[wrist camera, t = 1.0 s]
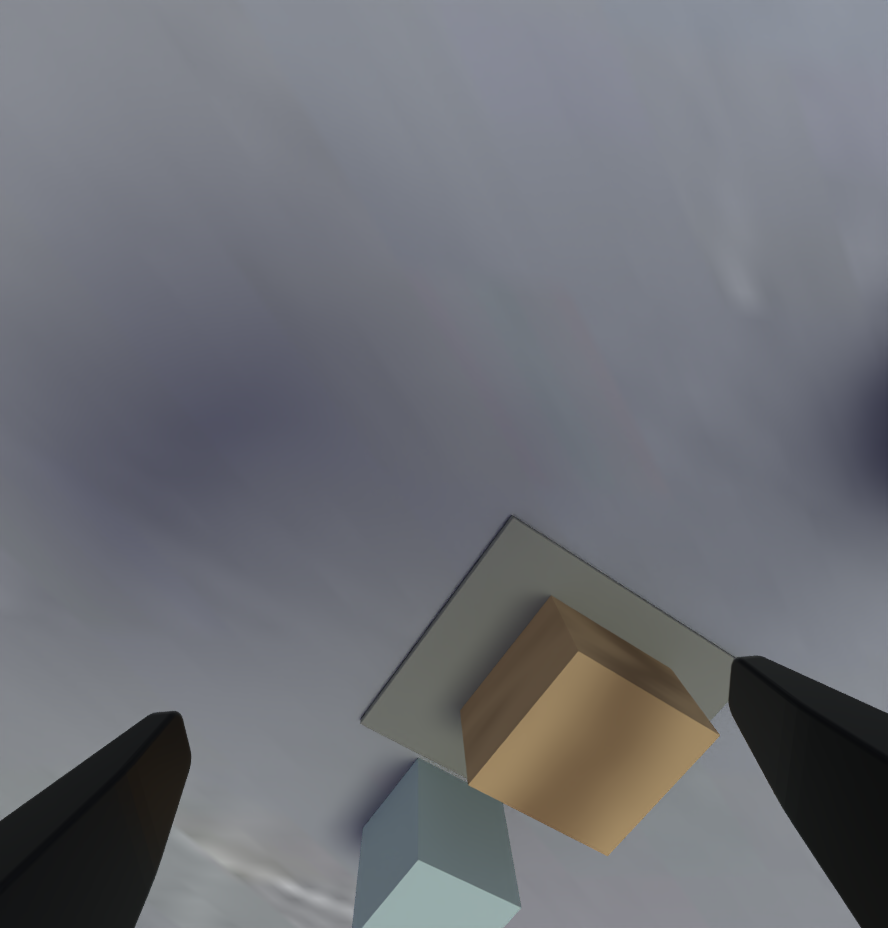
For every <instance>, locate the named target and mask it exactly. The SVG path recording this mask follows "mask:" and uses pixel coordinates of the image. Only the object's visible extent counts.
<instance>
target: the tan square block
mask: <svg viewBox="0 0 888 928" xmlns="http://www.w3.org/2000/svg"><path fill="white" fill-rule="evenodd" d="M460 715H461V725H462V734H463V743H464V752H465V761H466V771H467V780H468V785H469V786H471V787H473V788H475V789H477V790H479V791H481V792H483V793H485V794H487V795H488V796H490V797H492V798H494V799H496V800H498V801H500V802H502V803H504V804H506V805H508V806H510V807H512V808H514V809H516V810H518V811H520V812H522V813H524V814H526V815H528V816H530V817H532V818H534V819H536V820H538V821H540V822H542V823H544V824H545V825H547V826H549V827H551V828H553V829H555V830H557V831H559V832H561V833H563V834H565V835H567V836H569V837H571V838H573V839H575V840H577V841H579V842H581V843H583V844H585V845H587V846H589V847H591V848H593V849H595V850H597V851H599V852H601V853H602V854H604V855H606V856H608V855H609V854H610V853H611V852H612V851H613V850H614V849H615V848H616V847H617V846H618V844H619V843H620V842H621V841H622V840H623V839H624V838H625V837H626V836H627V835H628V834H629V833H630V832H631V831H632V829H633V828H634V827H635V826H636V825H637V824H638V823H639V822H640V821H641V820H642V819H643V818H644V817H645V815H646V814H647V813H648V812H649V811H650V810H651V809H652V808H653V807H654V806H655V805H656V804H657V803H658V802H659V800H660V799H661V798H662V797H663V796H664V795H665V794H666V793H667V792H668V791H669V790H670V789H671V788H672V787H673V785H674V784H675V783H676V782H677V781H678V780H679V779H680V778H681V777H682V776H683V775H684V774H685V773H686V772H687V770H688V769H689V768H690V767H691V766H692V765H693V764H694V763H695V762H696V761H697V760H698V759H699V758H700V757H701V755H702V754H703V753H704V752H705V751H706V750H707V749H708V748H709V747H710V746H711V745H712V744H713V743H714V741H715V740H716V739H717V738H718V737H719V736H720V735H719V733H718V732H717V731H716V729H715V728H714V726H713V725H712V724H711V722H710V721H709V720H708V718H707V717H706V716H705V714H704V713H703V711H702V710H701V709H700V707H699V706H698V705H697V703H696V702H695V701H694V699H693V698H692V697H691V695H690V694H689V692H688V691H687V690H686V688H685V687H684V686H683V684H682V683H681V682H680V680H679V679H678V677H677V676H676V675H675V673H674V672H673V671H672V669H671V668H669V667H667V666H666V665H664V664H662V663H661V662H659V661H657V660H656V659H654V658H653V657H651V656H649V655H648V654H646V653H644V652H643V651H641V650H640V649H638V648H636V647H635V646H633V645H631V644H630V643H628V642H626V641H625V640H623V639H622V638H620V637H618V636H617V635H615V634H613V633H612V632H610V631H609V630H607V629H605V628H604V627H602V626H600V625H599V624H597V623H595V622H594V621H592V620H591V619H589V618H587V617H586V616H584V615H582V614H581V613H579V612H578V611H576V610H574V609H573V608H571V607H569V606H568V605H566V604H564V603H563V602H561V601H560V600H558V599H556V598H555V597H553V596H550V597H549V598H548V600H547V601H546V602H545V604H544V605H543V606H542V607H541V609H540V610H539V611H538V612H537V614H536V615H535V616H534V618H533V619H532V620H531V621H530V623H529V624H528V625H527V626H526V628H525V629H524V630H523V631H522V633H521V634H520V635H519V637H518V638H517V639H516V640H515V642H514V643H513V644H512V645H511V647H510V648H509V649H508V650H507V652H506V653H505V654H504V656H503V657H502V658H501V659H500V661H499V662H498V663H497V664H496V666H495V667H494V668H493V670H492V671H491V672H490V673H489V675H488V676H487V677H486V678H485V680H484V681H483V682H482V683H481V685H480V686H479V687H478V689H477V690H476V691H475V692H474V694H473V695H472V696H471V697H470V699H469V700H468V701H467V702H466V704H465V705H464V706H463V708H462V709H461V710H460Z"/></svg>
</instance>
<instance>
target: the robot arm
mask: <svg viewBox="0 0 888 928" xmlns="http://www.w3.org/2000/svg"><path fill="white" fill-rule="evenodd" d="M728 702H729V707H730V711H731V714H732V716H733V718H734V720H735V722H736V723H737V725H738V727H739V729H740V731H741V733H742V735H743V736H744V738H745V740H746V742H747V744H748V746H749V748H750V749H751V751H752V753H753V755H754V757H755V759H756V760H757V762H758V764H759V766H760V768H761V770H762V772H763V773H764V775H765V777H766V779H767V781H768V783H769V785H770V786H771V788H772V790H773V792H774V794H775V796H776V797H777V799H778V801H779V802H780V804H781V806H782V808H783V809H784V811H785V813H786V814H787V816H788V817H789V819H790V821H791V822H792V824H793V825H794V827H795V828H796V830H797V831H798V833H799V834H800V836H801V837H802V839H803V840H804V842H805V843H806V845H807V847H808V848H809V850H810V851H811V853H812V854H813V856H814V857H815V859H816V860H817V862H818V863H819V865H820V866H821V868H822V869H823V871H824V872H825V874H826V875H827V877H828V878H829V880H830V881H831V883H832V884H833V886H834V887H835V889H836V890H837V892H838V893H839V895H840V896H841V898H842V899H843V901H844V903H845V904H846V906H847V907H848V909H849V910H850V912H851V913H852V915H853V916H854V918H855V919H856V921H857V922H858V924H859V925H860V927H861V928H888V713H886V712H883V711H881V710H879V709H877V708H875V707H872V706H870V705H868V704H866V703H864V702H861V701H859V700H857V699H855V698H853V697H850V696H848V695H846V694H844V693H842V692H839V691H837V690H835V689H833V688H831V687H828V686H826V685H824V684H822V683H820V682H817V681H815V680H813V679H811V678H809V677H806V676H804V675H802V674H800V673H798V672H795V671H793V670H791V669H789V668H787V667H784V666H782V665H780V664H778V663H776V662H773V661H771V660H769V659H767V658H765V657H762V656H745V657H737V658H735V659H734V660H733V662H732V664H731V673H730V684H729V696H728ZM190 765H191V750H190V746H189V742H188V738H187V734H186V730H185V726H184V722H183V718H182V716H181V714H180V713H179V712H177V711H167V712H157V713H152V714H150V715H148V716H147V717H145V718H144V719H142V720H141V721H140V722H138V723H137V724H135V725H134V726H133V727H131V728H130V729H128V730H127V731H126V732H124V733H123V734H121V735H120V736H119V737H117V738H116V739H114V740H113V741H112V742H110V743H109V744H107V745H106V746H105V747H103V748H102V749H100V750H99V751H98V752H96V753H95V754H93V755H92V756H91V757H89V758H88V759H86V760H85V761H84V762H82V763H81V764H79V765H78V766H77V767H75V768H74V769H72V770H71V771H70V772H68V773H67V774H65V775H64V776H63V777H61V778H60V779H58V780H57V781H55V782H54V783H53V784H51V785H50V786H48V787H47V788H46V789H44V790H43V791H41V792H40V793H39V794H37V795H36V796H34V797H33V798H32V799H30V800H29V801H27V802H26V803H25V804H23V805H22V806H20V807H19V808H18V809H16V810H15V811H13V812H12V813H11V814H9V815H8V816H6V817H5V818H4V819H2V820H1V821H0V928H135V925H136V923H137V920H138V918H139V916H140V913H141V911H142V908H143V906H144V904H145V901H146V899H147V896H148V894H149V891H150V889H151V886H152V884H153V881H154V879H155V876H156V873H157V870H158V868H159V865H160V862H161V859H162V856H163V853H164V849H165V846H166V843H167V840H168V837H169V833H170V830H171V827H172V824H173V821H174V817H175V814H176V811H177V808H178V805H179V802H180V798H181V795H182V792H183V789H184V786H185V782H186V779H187V776H188V773H189V769H190Z"/></svg>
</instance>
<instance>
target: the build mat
mask: <svg viewBox="0 0 888 928" xmlns="http://www.w3.org/2000/svg"><path fill="white" fill-rule="evenodd" d="M550 596H553V597H555V598H556V599H558V600H560V601H561V602H563V603H564V604H566V605H568V606H569V607H571V608H573V609H574V610H576V611H578V612H579V613H581V614H582V615H584V616H586V617H587V618H589V619H591V620H592V621H594V622H595V623H597V624H599V625H600V626H602V627H604V628H605V629H607V630H609V631H610V632H612V633H613V634H615V635H617V636H618V637H620V638H622V639H623V640H625V641H626V642H628V643H630V644H631V645H633V646H635V647H636V648H638V649H640V650H641V651H643V652H644V653H646V654H648V655H649V656H651V657H653V658H654V659H656V660H657V661H659V662H661V663H662V664H664V665H666V666H667V667H669V668H671V669H672V671H673V672H674V673H675V675H676V676H677V677H678V679H679V680H680V682H681V683H682V684H683V686H684V687H685V688H686V690H687V691H688V692H689V694H690V695H691V697H692V698H693V699H694V701H695V702H696V703H697V705H698V706H699V707H700V709H701V710H702V711H703V713H704V714H705V716H706V717H707V718H708V720H709V721H710V720H711V719H712V718H713V717H714V716H715V715H716V714H717V713H718V712H719V711H720V710H721V709H722V707H723V706H724V705H725V704H726V703H727V702H728V696H729V684H730V673H731V664H732V662H733V660H734V659H735V657H733V656H732V655H730V654H729V653H727V652H726V651H724V650H722V649H721V648H719V647H718V646H716V645H715V644H713V643H711V642H710V641H708V640H707V639H705V638H704V637H702V636H700V635H699V634H697V633H696V632H694V631H693V630H691V629H690V628H688V627H686V626H685V625H683V624H682V623H680V622H679V621H677V620H675V619H674V618H672V617H671V616H669V615H668V614H666V613H664V612H663V611H661V610H660V609H658V608H657V607H655V606H653V605H652V604H650V603H649V602H647V601H646V600H644V599H642V598H641V597H639V596H638V595H636V594H635V593H633V592H632V591H630V590H628V589H627V588H625V587H624V586H622V585H621V584H619V583H617V582H616V581H614V580H613V579H611V578H610V577H608V576H606V575H605V574H603V573H602V572H600V571H599V570H597V569H595V568H594V567H592V566H591V565H589V564H588V563H586V562H584V561H583V560H581V559H580V558H578V557H577V556H575V555H573V554H572V553H570V552H569V551H567V550H566V549H564V548H563V547H561V546H559V545H558V544H556V543H555V542H553V541H552V540H550V539H548V538H547V537H545V536H544V535H542V534H541V533H539V532H537V531H536V530H534V529H533V528H531V527H530V526H528V525H526V524H525V523H523V522H522V521H520V520H519V519H517V518H515V517H514V516H511V517H510V519H509V520H508V521H507V523H506V524H505V525H504V527H503V528H502V530H501V531H500V532H499V534H498V535H497V536H496V538H495V539H494V540H493V542H492V543H491V544H490V546H489V547H488V548H487V550H486V551H485V552H484V554H483V555H482V556H481V558H480V559H479V561H478V562H477V563H476V565H475V566H474V567H473V569H472V570H471V571H470V573H469V574H468V575H467V577H466V578H465V579H464V581H463V582H462V583H461V585H460V586H459V588H458V589H457V590H456V592H455V593H454V594H453V596H452V597H451V598H450V600H449V601H448V602H447V604H446V605H445V606H444V608H443V609H442V610H441V612H440V613H439V615H438V616H437V617H436V619H435V620H434V621H433V623H432V624H431V625H430V627H429V628H428V629H427V631H426V632H425V633H424V635H423V636H422V637H421V639H420V640H419V641H418V643H417V644H416V646H415V647H414V648H413V650H412V651H411V652H410V654H409V655H408V656H407V658H406V659H405V660H404V662H403V663H402V664H401V666H400V667H399V668H398V670H397V671H396V673H395V674H394V675H393V677H392V678H391V679H390V681H389V682H388V683H387V685H386V686H385V687H384V689H383V690H382V691H381V693H380V694H379V695H378V697H377V698H376V700H375V701H374V702H373V704H372V705H371V706H370V708H369V709H368V710H367V712H366V713H365V714H364V716H363V717H362V718H361V723H360V724H362V725H364V726H366V727H368V728H369V729H371V730H373V731H375V732H377V733H379V734H381V735H383V736H385V737H387V738H389V739H391V740H393V741H395V742H397V743H399V744H401V745H403V746H405V747H407V748H409V749H411V750H413V751H414V752H416V753H418V754H420V755H422V756H424V757H426V758H428V759H430V760H432V761H434V762H436V763H438V764H440V765H442V766H444V767H446V768H448V769H450V770H452V771H454V772H456V773H457V774H459V775H461V776H463V777H465V778H467V771H466V761H465V752H464V743H463V734H462V725H461V715H460V710H461V709H462V708H463V706H464V705H465V704H466V702H467V701H468V700H469V699H470V697H471V696H472V695H473V694H474V692H475V691H476V690H477V689H478V687H479V686H480V685H481V683H482V682H483V681H484V680H485V678H486V677H487V676H488V675H489V673H490V672H491V671H492V670H493V668H494V667H495V666H496V664H497V663H498V662H499V661H500V659H501V658H502V657H503V656H504V654H505V653H506V652H507V650H508V649H509V648H510V647H511V645H512V644H513V643H514V642H515V640H516V639H517V638H518V637H519V635H520V634H521V633H522V631H523V630H524V629H525V628H526V626H527V625H528V624H529V623H530V621H531V620H532V619H533V618H534V616H535V615H536V614H537V612H538V611H539V610H540V609H541V607H542V606H543V605H544V604H545V602H546V601H547V600H548V598H549V597H550Z"/></svg>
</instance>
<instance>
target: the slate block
mask: <svg viewBox="0 0 888 928" xmlns="http://www.w3.org/2000/svg"><path fill="white" fill-rule="evenodd" d="M520 909H521V903H520V898H519V892H518V886H517V881H516V875H515V869H514V864H513V858H512V853H511V847H510V841H509V836H508V830H507V824H506V819H505V813H504V807H503V803H502V802H500V801H498V800H496V799H494V798H492V797H490V796H488V795H487V794H485V793H483V792H481V791H479V790H477V789H475V788H473V787H471V786H469V785H468V783H467V782H465V781H463V780H461V779H459V778H457V777H455V776H453V775H451V774H449V773H447V772H445V771H443V770H441V769H439V768H437V767H435V766H433V765H431V764H429V763H427V762H425V761H423V760H421V759H420V758H418V759H417V760H416V761H415V762H414V764H413V765H412V766H411V768H410V769H409V770H408V771H407V773H406V774H405V775H404V776H403V778H402V779H401V780H400V782H399V783H398V784H397V785H396V787H395V788H394V789H393V790H392V792H391V793H390V794H389V796H388V797H387V798H386V799H385V801H384V802H383V803H382V804H381V806H380V807H379V808H378V810H377V811H376V812H375V813H374V815H373V816H372V817H371V818H370V820H369V821H368V822H367V824H366V825H365V826H364V827H363V832H362V841H361V850H360V860H359V869H358V878H357V887H356V896H355V905H354V915H353V924H352V928H503V927H504V926H505V925H506V924H507V923H508V922H509V921H510V920H511V919H512V918H513V916H514V915H515V914H516V913H517V912H518V911H519V910H520Z"/></svg>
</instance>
